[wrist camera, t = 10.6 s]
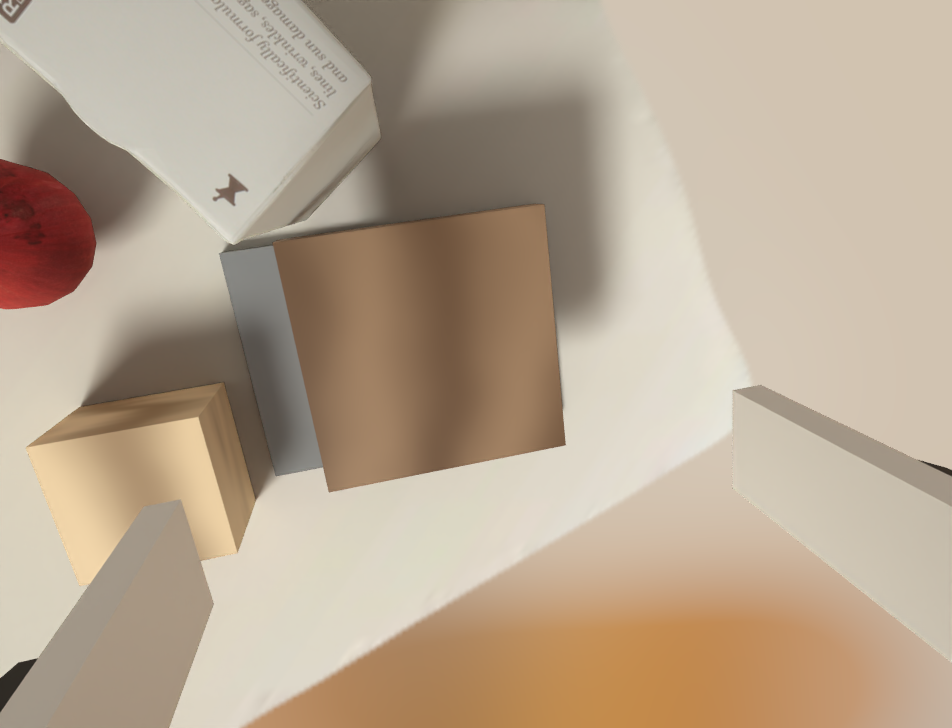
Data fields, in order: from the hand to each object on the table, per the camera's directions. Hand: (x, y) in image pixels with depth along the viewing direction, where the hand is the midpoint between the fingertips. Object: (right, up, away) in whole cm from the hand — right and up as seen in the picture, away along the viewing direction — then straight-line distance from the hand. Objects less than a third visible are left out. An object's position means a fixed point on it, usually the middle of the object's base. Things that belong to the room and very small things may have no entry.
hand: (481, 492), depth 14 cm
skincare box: (-10, +15, +14) cm, 22 cm away
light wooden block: (-16, -2, +17) cm, 24 cm away
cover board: (-2, +4, +13) cm, 14 cm away
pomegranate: (-20, +9, +14) cm, 26 cm away
